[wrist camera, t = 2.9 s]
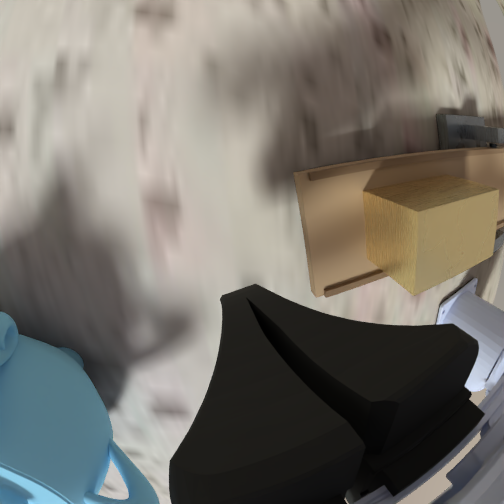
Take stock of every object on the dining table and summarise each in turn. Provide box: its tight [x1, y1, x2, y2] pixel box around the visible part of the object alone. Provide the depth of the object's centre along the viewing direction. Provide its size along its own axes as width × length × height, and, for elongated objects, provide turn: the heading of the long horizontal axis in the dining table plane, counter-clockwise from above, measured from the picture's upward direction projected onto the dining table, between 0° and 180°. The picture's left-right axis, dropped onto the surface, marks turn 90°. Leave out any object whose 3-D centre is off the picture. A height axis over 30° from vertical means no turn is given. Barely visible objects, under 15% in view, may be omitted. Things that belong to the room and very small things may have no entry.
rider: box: [362, 174, 499, 296], centre depth 13 cm, size 4×7×4 cm, turn 102°
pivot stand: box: [436, 114, 504, 253], centre depth 17 cm, size 12×8×5 cm, turn 12°
